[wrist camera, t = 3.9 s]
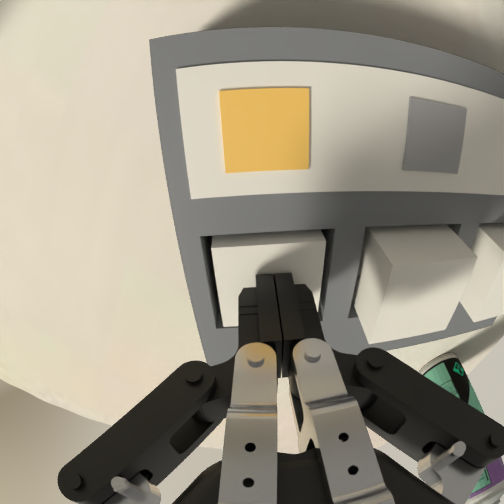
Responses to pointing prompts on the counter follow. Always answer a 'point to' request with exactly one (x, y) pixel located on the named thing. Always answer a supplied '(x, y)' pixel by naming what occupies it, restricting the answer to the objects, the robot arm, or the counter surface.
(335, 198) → the button panel
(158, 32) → the counter surface
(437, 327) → the middle button
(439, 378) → the spray can
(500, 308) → the button
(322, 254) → the button
